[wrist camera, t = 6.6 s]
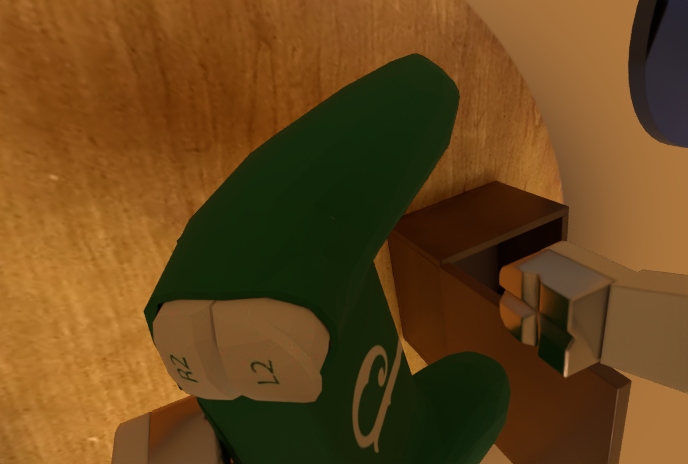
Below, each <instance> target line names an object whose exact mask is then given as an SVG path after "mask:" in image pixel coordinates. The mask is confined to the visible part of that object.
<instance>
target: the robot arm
mask: <svg viewBox="0 0 688 464" xmlns="http://www.w3.org/2000/svg"><path fill="white" fill-rule="evenodd" d="M499 284H500V285H501V286H502V287H503V288H504V289H505V292H504V294H503V296H502V298H501V300H500V302H499V303H500V315H501V318H502V320H503V322H504V325H505V327H506V328H507V329H508V331H509V332H510V333H511V334H512V336H514V337H515V338H516V339H517V340H518V341H520V342H521V343H524V344H528V345H532V346H536V350H537V354H538V357H540V358H541V359H542V360H543V361H545V362H546V363H547V364H548V365H550V366H551V367H552V368H553V369H555V370H556V371H557V372H558V373H560V374H561V375H562V376H564V377H565V378H566V377H568V376H570V375H572V374H574V373H576V372H578V371H580V370H583V369H585V368H587V367H589V366H591V365H593V364H595V363H597V362H599V361H601V364H604V365H607V366H610V367H613V368H616V369H618V370H621V371H624V372H627V373H630V374H633V375H636V376H638V377H641V378H644V379H647V380H650V381H653V382H656V383H659V384H662V385H664V386H667V387H670V388H673V389H676V390H679V391H682V392H684V393H687V394H688V275H683V274H675V273H667V272H659V271H651V270H641V271H639V272H636V271H633V270H631V269H629V268H627V267H624V266H622V265H620V264H618V263H616V262H614V261H611V260H609V259H607V258H605V257H603V256H600V255H598V254H596V253H594V252H591V251H589V250H587V249H585V248H583V247H581V246H579V245H576V244H574V243H572V242H568V241H560V242H558V243H555V244H553V245H551V246H549V247H546V248H544V249H542V250H541V251H538V252H536V253H534V254H531V255H529V256H526V257H524V258H522V259H519V260H517V261H515V262H512V263H510V264H508V265H505V266H503V267H502V269H501V271H500V273H499ZM111 464H235V463H234V462H233V460H232V459H231V458H230V456H229V454H228V453H227V451H226V449H225V448H224V446H223V444H222V443H221V441H220V439H219V438H218V437H217V435H216V433H215V432H214V430H213V428H212V427H211V425H210V423H209V422H208V420H207V418H206V416H205V415H204V413H203V411H202V410H201V408H200V406H199V404H198V401H197V399H196V396H194V395H191V396H188V397H186V398H183V399H181V400H178V401H175V402H173V403H170V404H168V405H165V406H163V407H160V408H157V409H155V410H153V411H152V412H149V413H146V414H144V415H141V416H139V417H136V418H133V419H131V420H128V421H126V422H123V423H121V424H120V425H119V426H118V428H117V430H116V432H115V437H114V446H113V454H112V463H111Z"/></svg>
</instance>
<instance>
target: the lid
mask: <svg viewBox="0 0 688 464" xmlns="http://www.w3.org/2000/svg"><path fill="white" fill-rule="evenodd" d="M439 270H440V279H441V289H442V299H443V308H444V318H445V327H446V337H447V346H448V355H450V354H455V353H460V352H465V351H470V352H477V353H480V354H484V355H486V356H488V357H490V358H493V359H494V360H496V361H497V362H498V363H500V364H501V365H502V366H503V368H504V369H505V371H506V373H507V376H508V378H509V384H510V390H511V396H510V402H509V408H508V414H507V420H506V423H505V425H504V427H503V428H502V430H501V432H500V434H499V436H498V438H497V439H496V441H495V442H494V444H495V445H496V446H497V447H498V448H499V449H500V450H501V451H502V452H503V454H504V455H506V457H507V458H508V459H509V460H510V461H511V462H512V463H513V464H618V463H619V457H620V451H621V445H622V438H623V432H624V426H625V419H626V413H627V407H628V401H629V394H630V388H631V380H630V379H628V378H627V377H625V376H624V375H622V374H621V373H619V372H618V371H616V370H615V369H613V368H612V367H610V366H607V365H604V364H601V361H599V362H597V363H595V364H593V365H591V366H589V367H587V368H585V369H583V370H580V371H578V372H576V373H574V374H572V375H570V376H568V377H566V378H565V377H564V376H562V375H561V374H560V373H558V372H557V371H556V370H555V369H553V368H552V367H551V366H550V365H548V364H547V363H546V362H545V361H543V360H542V359H541V358H540V357H538V354H537V350H536V346H532V345H528V344H524V343H521V342H520V341H518V340H517V339H516V338H515V337H514V336H512V334H511V333H510V332H509V331H508V329H507V328H506V327H505V325H504V322H503V320H502V318H501V315H500V303H499V302H500V300H501V298H502V296H500V295H499V294H497V293H496V292H494V291H493V290H491V289H489V288H488V287H486V286H485V285H483V284H482V283H480V282H479V281H477V280H476V279H474V278H472V277H471V276H469V275H468V274H466V273H465V272H463V271H462V270H460V269H459V268H457V267H455V266H454V265H452V264H451V263H449V262H448V263H446V264H444V265H441V266H440V267H439Z"/></svg>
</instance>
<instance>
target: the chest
mask: <svg viewBox="0 0 688 464" xmlns="http://www.w3.org/2000/svg"><path fill="white" fill-rule="evenodd" d="M568 213H569V207H568V206H566V205H563V204H560V203H557V202H554V201H552V200H549V199H546V198H543V197H540V196H538V195H535V194H532V193H529V192H526V191H523V190H521V189H518V188H515V187H512V186H509V185H507V184H504V183H501V182H498V181H495V182H492V183H489V184H487V185H484V186H481V187H479V188H476V189H473V190H471V191H468V192H465V193H463V194H460V195H457V196H455V197H452V198H449V199H447V200H444V201H441V202H439V203H436V204H433V205H431V206H428V207H425V208H423V209H420V210H417V211H415V212H412V213H409V214H407V215H404V216H402V217H401V219H400V220H399V221H398V223H397V224H396V226H395V227H394V229H393V230H392V232H391V233H390V235H389V236H388V244H389V250H390V257H391V263H392V269H393V275H394V281H395V287H396V293H397V299H398V305H399V311H400V318H401V324H402V330H403V336H404V339H405V340H406V341H407V342H408V343H409V344H410V345H411V347H412V348H413V349H414V350H415V351H416V352H417V353H418V354H419V355H420V356H421V358H422V359H423V360H424V361H425V362H426V363H427V364H428V365H430V364H432V363H434V362H436V361H438V360H440V359H442V358H443V357H445V356H447V355H448V346H447V337H446V327H445V318H444V308H443V299H442V289H441V279H440V270H439V267H440V266H441V265H444V264H446V263H448V262H449V263H451V264H452V265H454V266H455V267H457V268H459V269H460V270H462V271H463V272H465V273H466V274H468V275H469V276H471V277H472V278H474V279H476V280H477V281H479V282H480V283H482V284H483V285H485V286H486V287H488V288H489V289H491V290H493V291H494V292H496V293H497V294H499V295H500V296H503V294H504V292H505V289H504V288H503V287H502V286H501V285H500V284H499V273H500V271H501V269H502V267H503V266H505V265H508V264H510V263H512V262H515V261H517V260H519V259H522V258H524V257H526V256H529V255H531V254H534V253H536V252H538V251H541V250H542V249H544V248H546V247H549V246H551V245H553V244H555V243H558V242H560V241H567V233H568Z"/></svg>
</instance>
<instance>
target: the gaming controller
mask: <svg viewBox="0 0 688 464" xmlns="http://www.w3.org/2000/svg"><path fill="white" fill-rule="evenodd" d="M459 98H460V96H459V90H458V88H457V86H456V84H455V82H454V81H453V80H452V79H451V78H450V77H449V76H448V75H447V74H446V73H445V72H444V70H443V69H442V68H440V67H439V66H438V65H436V64H435V63H433V62H432V61H430V60H429V59H428V58H426V57H424V56H422V55H420V54H411V55H408V56H405V57H402V58H399V59H397V60H394V61H392V62H389V63H388V64H386V65H384V66H382V67H380V68H378V69H377V70H375V71H373V72H371V73H369V74H367V75H366V76H364V77H362V78H360V79H358V80H356V81H355V82H353V83H351V84H349V85H347V86H345V87H344V88H342V89H341V90H339V91H338V92H336V93H335V94H333V95H332V96H331V97H329V98H328V99H326V100H325V101H323V102H322V103H320V104H319V105H318V106H316V107H315V108H313V109H312V110H310V111H309V112H307V113H306V114H305V115H303V116H302V117H300V118H299V119H297V120H296V121H294V122H293V123H292V124H290V125H289V126H287V127H286V128H284V129H283V130H281V131H280V132H279V133H277V134H276V135H274V136H273V137H271V138H270V139H269V140H268V141H266V142H265V143H264V144H262V145H261V146H260V147H258V148H257V149H256V150H254V151H253V152H252V153H250V154H249V155H248V157H247V158H246V159H245V160H244V161H243V162H242V163H241V164H240V165H239V166H238V167H237V168H236V170H235V171H234V172H233V173H232V174H231V175H230V176H229V177H228V178H227V179H226V180H225V182H224V183H223V184H222V185H221V186H220V187H219V188H218V189H217V190H216V191H215V192H214V194H213V195H212V196H211V197H210V198H209V199H208V200H207V201H206V202H205V203H204V204H203V205H202V207H201V208H200V209H199V210H198V211H197V212H196V213H195V214H194V215H193V216H192V217H191V219H190V220H189V221H188V223H187V225H186V227H185V229H184V231H183V233H182V235H181V237H180V238H179V239H178V240H177V245H176V247H175V249H174V251H173V253H172V255H171V257H170V259H169V261H168V263H167V265H166V267H165V269H164V271H163V273H162V275H161V277H160V279H159V281H158V283H157V285H156V287H155V289H154V291H153V293H152V295H151V297H150V299H149V301H148V303H147V306H146V308H145V310H144V314H145V318H146V321H147V324H148V327H149V330H150V333H151V336H152V339H153V343H154V345H155V346H156V348H157V350H158V352H159V354H160V356H161V358H162V360H163V362H164V364H165V367H166V369H167V371H168V373H169V375H170V376H171V377H172V378H173V379H174V380H175V381H176V383H177V385H178V386H179V388H180V390H184V391H185V392H186V393H187V394H190V395H194V396H196V399H197V401H198V404H199V406H200V408H201V410H202V411H203V413H204V415H205V416H206V418H207V420H208V422H209V423H210V425H211V427H212V428H213V430H214V432H215V433H216V435H217V437H218V438H219V439H220V441H221V443H222V444H223V446H224V448H225V449H226V451H227V453H228V454H229V456H230V458H231V459H232V460H233V462H234V463H235V464H479V463H480V462H481V460H482V459H483V458H484V456H485V455H486V454H487V452H488V451H489V449H490V448H491V446H492V445H493V444H494V442H495V441H496V439H497V438H498V436H499V434H500V432H501V430H502V428H503V427H504V425H505V423H506V420H507V414H508V408H509V402H510V396H511V390H510V384H509V378H508V376H507V373H506V371H505V369H504V368H503V366H502V365H501V364H500V363H498V362H497V361H496V360H494V359H493V358H490V357H488V356H486V355H484V354H480V353H477V352H470V351H465V352H460V353H455V354H450V355H447V356H445V357H443V358H442V359H440V360H438V361H436V362H434V363H432V364H430V365H428V366H427V367H425V368H423V369H422V370H420V371H418V372H417V373H415V374H414V375H412V374H411V371H410V368H409V365H408V362H407V359H406V356H405V353H404V350H403V348H402V345H401V342H400V339H399V336H398V333H397V330H396V327H395V324H394V321H393V318H392V315H391V312H390V309H389V306H388V303H387V300H386V297H385V294H384V291H383V288H382V285H381V282H380V279H379V276H378V273H377V270H376V267H375V264H374V259H375V257H376V255H377V253H378V251H379V249H380V248H381V246H382V245H383V244H384V242H385V241H386V239H387V238H388V236H389V235H390V233H391V232H392V230H393V229H394V227H395V226H396V224H397V223H398V221H399V220H400V219H401V217H402V216H403V214H404V213H405V211H406V210H407V208H408V207H409V205H410V204H411V202H412V201H413V199H414V198H415V196H416V195H417V193H418V192H419V191H420V189H421V188H422V186H423V185H424V183H425V182H426V180H427V179H428V177H429V175H430V174H431V172H432V171H433V169H434V168H435V166H436V164H437V163H438V161H439V160H440V158H441V156H442V155H443V153H444V152H445V150H446V149H447V147H448V145H449V143H450V139H451V135H452V131H453V127H454V123H455V119H456V114H457V110H458V105H459Z"/></svg>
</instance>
